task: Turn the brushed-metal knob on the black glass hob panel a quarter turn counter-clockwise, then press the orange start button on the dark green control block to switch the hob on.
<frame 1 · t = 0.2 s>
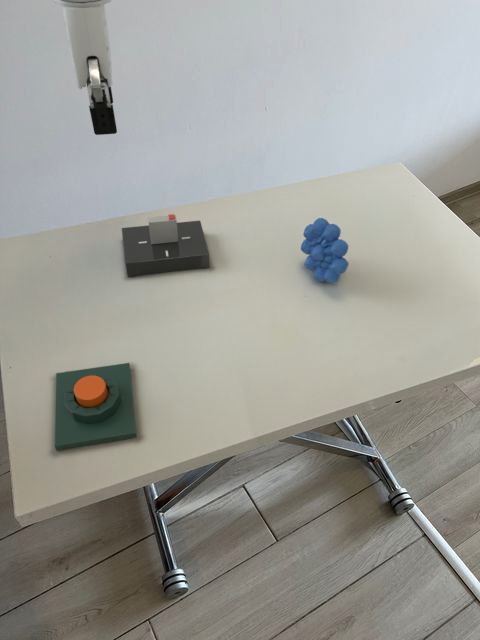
hand: (104, 117, 80), 22 cm above the table, tool pointing down, fingers open, 9 cm apart
grapes: (323, 278, 92), on the table
hob: (166, 254, 94), on the table
hob knob: (163, 229, 90), point 5 cm above the table, hinge at 0.0°
control block: (95, 406, 72), on the table
start button: (91, 391, 69), point 3 cm above the table, slide at 0.1 cm
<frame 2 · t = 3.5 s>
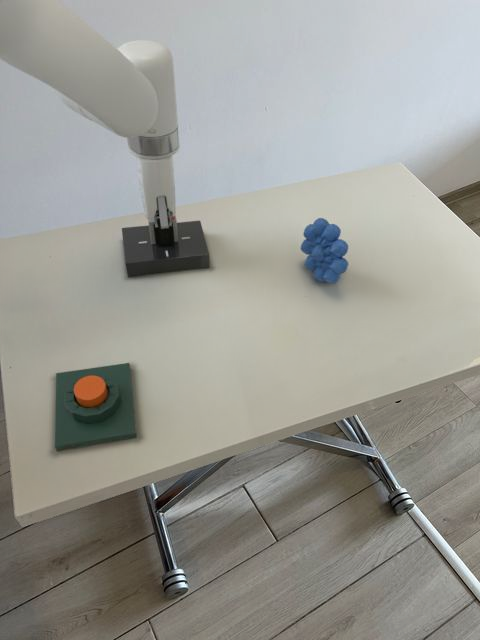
hand: (164, 239, 92), 3 cm above the table, tool pointing down, fingers closed on hob knob
hob knob: (163, 229, 90), point 5 cm above the table, hinge at 0.0°, touching gripper
everything else where it was.
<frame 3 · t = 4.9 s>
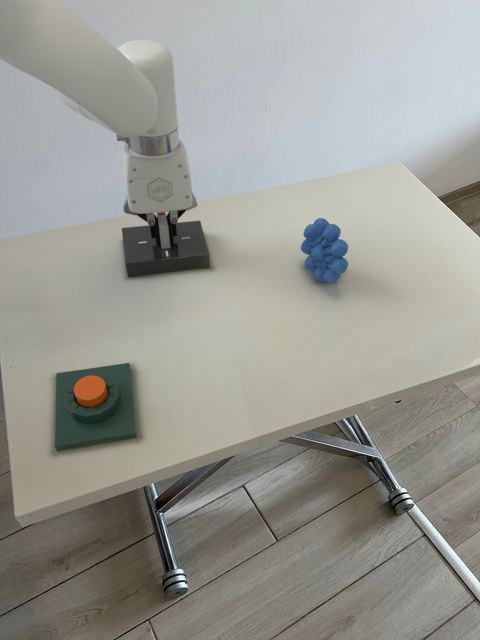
hand: (164, 239, 92), 3 cm above the table, tool pointing down, fingers closed on hob knob
hob knob: (163, 229, 90), point 5 cm above the table, hinge at 90.0°, touching gripper
everything else where it was.
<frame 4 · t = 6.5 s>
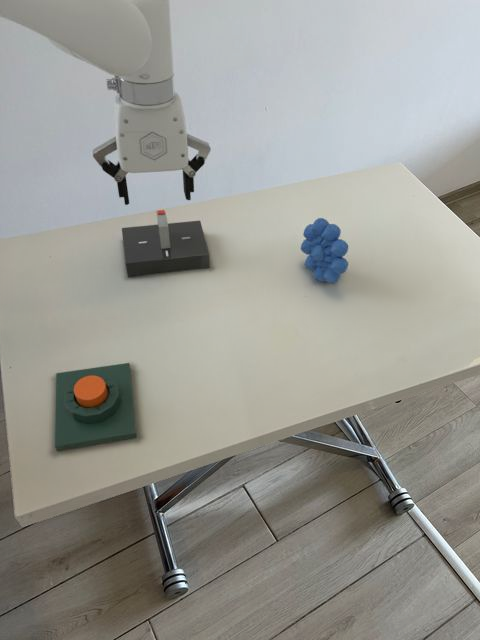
hand: (157, 197, 85), 12 cm above the table, tool pointing down, fingers open, 9 cm apart
hob knob: (163, 229, 90), point 5 cm above the table, hinge at 90.0°
everything else where it was.
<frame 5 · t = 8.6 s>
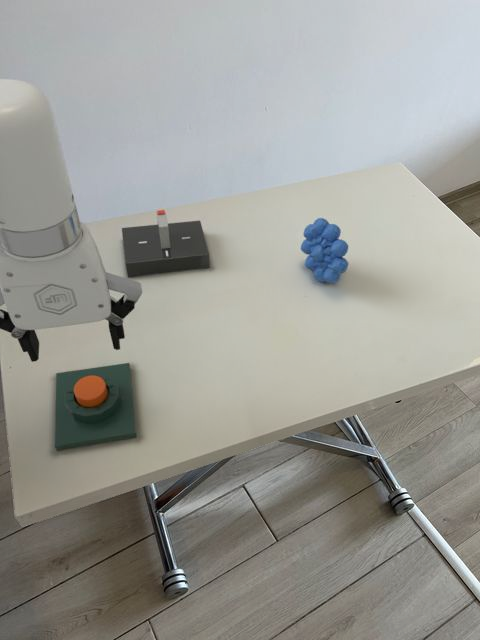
hand: (76, 346, 63), 12 cm above the table, tool pointing down, fingers open, 8 cm apart
nothing on the table moved.
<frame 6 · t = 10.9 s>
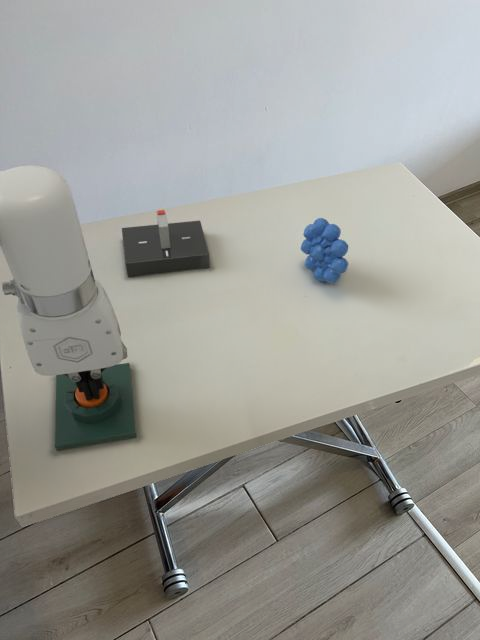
hand: (93, 391, 69), 3 cm above the table, tool pointing down, fingers closed
start button: (92, 395, 70), point 3 cm above the table, slide at -0.8 cm, touching gripper
everything else where it was.
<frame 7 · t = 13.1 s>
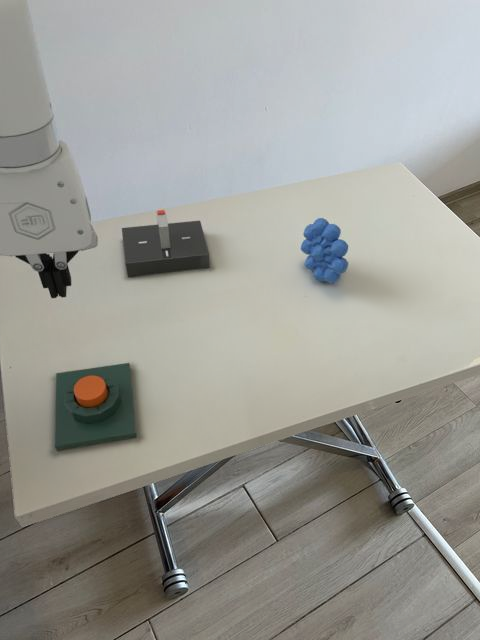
hand: (59, 289, 61), 18 cm above the table, tool pointing down, fingers closed
start button: (91, 391, 69), point 3 cm above the table, slide at 0.1 cm
everything else where it was.
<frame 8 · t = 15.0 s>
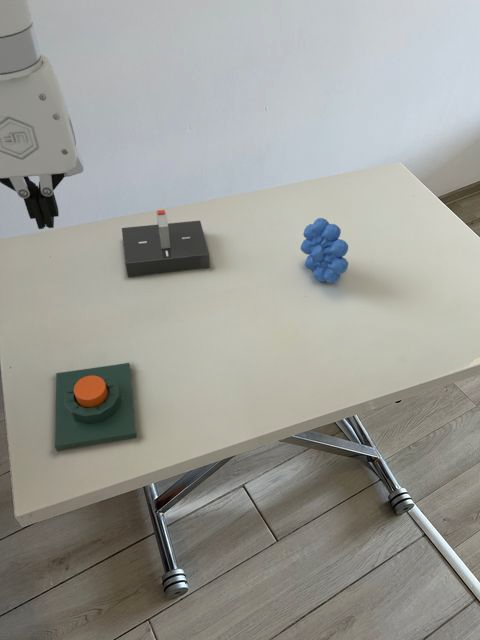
hand: (46, 221, 61), 23 cm above the table, tool pointing down, fingers closed
nothing on the table moved.
at the end: hob knob at +90° (first picture: +0°); start button pushed in 1.1 cm at the most during the clip, back to where it started at the end; start button slide at 0.1 cm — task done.
